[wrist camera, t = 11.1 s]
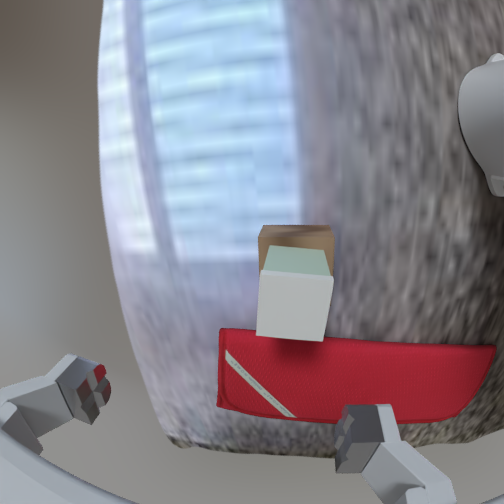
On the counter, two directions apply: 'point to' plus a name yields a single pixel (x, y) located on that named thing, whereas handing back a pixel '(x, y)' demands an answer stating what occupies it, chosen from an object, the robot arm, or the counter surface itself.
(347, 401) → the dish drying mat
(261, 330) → the sage tin
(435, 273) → the counter surface
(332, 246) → the walnut block
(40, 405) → the robot arm
